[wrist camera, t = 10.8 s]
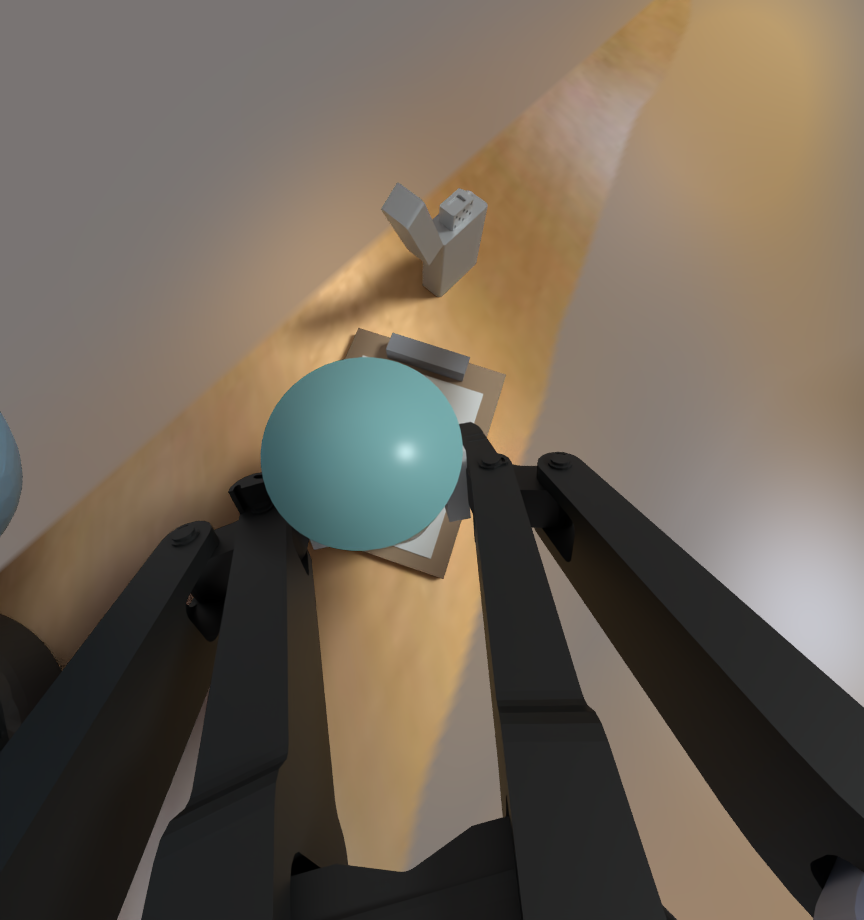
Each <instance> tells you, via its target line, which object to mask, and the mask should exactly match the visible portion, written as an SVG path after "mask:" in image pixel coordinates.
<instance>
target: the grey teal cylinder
mask: <svg viewBox="0 0 864 920" xmlns="http://www.w3.org/2000/svg"><path fill="white" fill-rule="evenodd" d="M462 457H463V444H462V436H461V430H460V426H459V423H458V420H457V417H456V415H455V413H454V410H453V408H452V406H451V405H450V403H449V402H448V400H447V398H446V397H445V396H444V394H443V393H442V392H441V391H440V390H439V388H438V387H437V386H436V385H435V384H434V383H432V382H431V381H430V380H429V379H428V378H426V377H425V376H424V375H422V374H421V373H420V372H418V371H416V370H414V369H412V368H410V367H408V366H406V365H403V364H401V363H398V362H395V361H391V360H387V359H381V358H374V357H359V358H349V359H344V360H340V361H336V362H333V363H330V364H327V365H324V366H322V367H320V368H318V369H316V370H314V371H312V372H311V373H309V374H307V375H306V376H304V377H303V378H302V379H300V380H299V381H298V382H297V383H295V384H294V385H293V386H292V387H291V388H290V389H289V390H288V391H287V392H286V393H285V394H284V396H283V397H282V398H281V400H280V401H279V402H278V404H277V405H276V407H275V409H274V410H273V412H272V414H271V416H270V418H269V420H268V423H267V425H266V428H265V432H264V435H263V439H262V446H261V469H262V475H263V480H264V483H265V487H266V490H267V492H268V494H269V497H270V499H271V501H272V503H273V504H274V506H275V507H276V509H277V510H278V512H279V513H280V515H281V516H282V517H283V518H284V519H285V520H286V521H287V522H288V523H289V524H290V525H291V526H292V527H293V528H295V529H296V530H297V531H298V532H299V533H301V534H303V535H304V536H306V537H308V538H309V539H311V540H313V541H315V542H318V543H320V544H322V545H325V546H329V547H332V548H336V549H342V550H350V551H366V550H373V549H381V548H387V547H391V546H394V545H398V544H402V543H407V542H410V541H412V540H414V539H416V538H418V537H419V536H420V535H422V534H423V533H424V532H425V530H426V529H427V528H428V526H429V525H430V524H431V523H432V522H433V521H434V520H435V519H436V517H437V516H438V515H439V513H440V512H441V511H442V509H443V508H444V507H445V505H446V504H447V502H448V500H449V498H450V497H451V495H452V493H453V491H454V489H455V486H456V484H457V481H458V478H459V474H460V470H461V465H462Z"/></svg>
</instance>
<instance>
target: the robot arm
mask: <svg viewBox="0 0 864 920" xmlns="http://www.w3.org/2000/svg"><path fill="white" fill-rule="evenodd" d="M459 426H460V430H461V436H462V444H463V457H462V465H461V470H460V474H459V478H458V481H457V484H456V486H455V489H454V491H453V493H452V495H451V497H450V498H449V500H448V502H447V504H446V505H445V509H446V513H447V516H448V519H449V522H453V521H458V520H463V519H468V518H471V516H470V508H471V511H472V513H473V522H474V537H475V543H476V552H477V562H478V572H479V582H480V591H481V601H482V611H483V621H484V630H485V640H486V649H487V659H488V669H489V678H490V689H491V698H492V708H493V718H494V728H495V737H496V747H497V757H498V767H499V779H500V791H501V801H502V812H503V818H499V819H496V820H492V821H488V822H485V823H481V824H477V825H474V826H471V827H470V828H469V829H467V830H466V831H464V832H463V833H462V834H460V835H459V836H458V837H456V838H455V839H453V840H452V841H451V842H449V843H448V844H446V845H445V846H444V847H442V848H441V849H439V850H438V851H437V852H435V853H434V854H433V855H431V856H430V857H428V858H427V859H426V860H424V861H423V862H421V863H420V864H419V865H417V866H416V867H414V868H413V869H411V870H409V871H406V872H396V871H388V870H381V869H373V868H365V867H357V866H349V865H348V860H347V852H346V847H345V842H344V837H343V833H342V829H341V826H340V823H339V819H338V815H337V810H336V804H335V796H334V786H333V776H332V765H331V755H330V745H329V734H328V724H327V714H326V703H325V693H324V683H323V673H322V662H321V652H320V642H319V631H318V621H317V611H316V600H315V590H314V580H313V570H312V559H311V557H310V554H309V552H308V550H307V547H308V542H309V538H308V537H306V536H304V535H303V534H301V533H299V532H298V531H297V530H296V529H295V528H293V527H292V526H291V525H290V524H289V523H288V522H287V521H286V520H285V519H284V518H283V517H282V516H281V515H280V513H279V512H278V510H277V509H276V507H275V506H274V504H273V503H272V501H271V499H270V497H269V494H268V492H267V490H266V487H265V483H264V480H263V475H262V472H261V473H256V474H252V475H249V476H247V477H244V478H243V479H241V480H239V481H237V482H236V483H235V484H234V485H233V486H231V488H230V490H229V491H228V493H229V494H230V496H231V498H232V500H233V502H234V504H235V505H236V507H237V509H238V511H239V513H240V517H239V520H238V521H236V522H234V523H231V524H229V525H226V526H224V527H221V528H218V529H216V530H214V529H213V528H212V526H211V524H210V523H209V522H206V521H195V522H192V523H187V524H184V525H183V526H180V527H178V528H176V529H175V530H174V531H172V532H171V533H169V534H168V535H167V536H166V537H165V538H164V539H163V540H162V541H161V542H160V544H159V545H158V546H157V548H156V549H155V550H154V551H153V553H152V554H151V555H150V557H149V558H148V559H147V561H146V562H145V563H144V565H143V566H142V567H141V568H140V570H139V571H138V572H137V574H136V575H135V576H134V578H133V579H132V580H131V582H130V583H129V584H128V586H127V587H126V588H125V589H124V591H123V592H122V593H121V595H120V596H119V597H118V599H117V600H116V601H115V603H114V604H113V605H112V606H111V608H110V609H109V610H108V612H107V613H106V614H105V616H104V617H103V618H102V620H101V621H100V622H99V623H98V625H97V626H96V627H95V629H94V630H93V631H92V633H91V634H90V635H89V637H88V638H87V639H86V641H85V642H84V643H83V644H82V646H81V647H80V648H79V650H78V651H77V652H76V654H75V655H74V656H73V658H72V659H71V660H70V661H69V663H68V664H67V665H66V667H65V668H64V669H63V671H62V672H61V670H60V668H59V666H58V664H57V662H56V660H55V658H54V657H53V655H52V654H51V652H50V651H49V650H48V648H47V647H46V646H45V645H44V643H43V642H42V641H41V640H40V639H39V638H38V637H37V636H36V635H35V634H33V633H32V632H31V631H30V630H29V629H27V628H26V627H24V626H23V625H21V624H20V623H18V622H16V621H14V620H13V619H11V618H9V617H6V616H4V615H1V614H0V920H117V918H118V916H119V913H120V911H121V908H122V906H123V903H124V901H125V898H126V895H127V893H128V890H129V888H130V885H131V883H132V880H133V878H134V875H135V873H136V870H137V868H138V865H139V863H140V860H141V858H142V855H143V853H144V850H145V848H146V845H147V843H148V840H149V838H150V835H151V833H152V830H153V827H154V825H155V822H156V820H157V817H158V815H159V812H160V810H161V807H162V805H163V802H164V800H165V797H166V795H167V792H168V790H169V787H170V785H171V782H172V780H173V777H174V775H175V772H176V770H177V767H178V765H179V762H180V760H181V757H182V754H183V752H184V749H185V747H186V744H187V742H188V739H189V737H190V734H191V732H192V729H193V727H194V724H195V722H196V719H197V717H198V714H199V712H200V709H201V707H202V704H203V702H204V699H205V697H206V694H207V692H208V689H209V687H210V691H209V696H208V702H207V708H206V714H205V719H204V725H203V731H202V737H201V743H200V748H199V754H198V760H197V766H196V772H195V777H194V783H193V789H192V792H191V796H190V800H189V802H188V804H187V805H186V807H185V809H184V810H183V811H181V812H180V813H179V814H178V815H177V816H176V817H175V818H173V819H172V820H171V821H170V822H169V824H168V826H167V828H166V830H165V832H164V834H163V835H162V837H161V840H160V843H159V846H158V850H157V853H156V856H155V859H154V863H153V867H152V872H151V877H150V881H149V886H148V891H147V895H146V900H145V904H144V909H143V914H142V918H141V920H677V919H676V918H675V917H674V916H673V915H672V914H671V913H669V911H667V909H666V908H665V907H664V906H663V905H662V903H661V900H660V897H659V895H658V891H657V888H656V885H655V882H654V879H653V876H652V873H651V870H650V867H649V864H648V861H647V858H646V855H645V852H644V849H643V845H642V842H641V839H640V836H639V833H638V830H637V827H636V824H635V821H634V818H633V815H632V812H631V809H630V806H629V803H628V800H627V797H626V794H625V791H624V788H623V785H622V782H621V779H620V776H619V772H618V769H617V766H616V763H615V760H614V757H613V754H612V751H611V748H610V745H609V742H608V739H607V737H606V734H605V731H604V729H603V726H602V723H601V722H600V720H599V718H598V716H597V715H596V712H595V711H594V710H593V709H591V708H590V707H589V706H588V705H587V703H586V701H585V699H584V697H583V695H582V691H581V688H580V685H579V682H578V679H577V676H576V672H575V669H574V666H573V662H572V659H571V655H570V652H569V649H568V646H567V642H566V639H565V636H564V633H563V629H562V626H561V623H560V620H559V617H558V613H557V610H556V606H555V603H554V600H553V597H552V593H551V590H550V587H549V584H548V580H547V577H546V574H545V570H544V567H543V564H542V560H541V557H540V554H539V551H538V547H537V544H536V541H535V538H534V534H533V531H532V528H531V527H534V528H535V531H536V532H537V534H538V535H539V537H540V538H541V540H542V541H543V543H544V544H545V546H546V547H547V549H548V550H549V551H550V553H551V554H552V556H553V557H554V559H555V560H556V562H557V563H558V565H559V566H560V567H561V569H562V571H563V572H564V573H565V575H566V576H567V578H568V579H569V581H570V582H571V584H572V585H573V587H574V588H575V590H576V591H577V593H578V594H579V596H580V597H581V598H582V600H583V601H584V603H585V604H586V606H587V607H588V608H589V610H590V612H591V613H592V615H593V616H594V618H595V619H596V620H597V622H598V623H599V625H600V626H601V628H602V629H603V631H604V632H605V634H606V635H607V637H608V638H609V639H610V641H611V643H612V644H613V645H614V647H615V648H616V650H617V651H618V653H619V654H620V656H621V657H622V659H623V660H624V661H625V663H626V664H627V666H628V668H629V669H630V670H631V672H632V673H633V675H634V676H635V678H636V679H637V681H638V682H639V684H640V685H641V687H642V688H643V690H644V691H645V692H646V694H647V695H648V697H649V698H650V700H651V701H652V703H653V704H654V706H655V707H656V709H657V710H658V712H659V713H660V714H661V716H662V717H663V719H664V720H665V722H666V723H667V725H668V726H669V728H670V729H671V731H672V732H673V734H674V735H675V737H676V738H677V739H678V741H679V742H680V744H681V745H682V747H683V748H684V750H685V751H686V753H687V754H688V756H689V757H690V759H691V760H692V761H693V763H694V764H695V766H696V767H697V769H698V770H699V772H700V773H701V775H702V776H703V778H704V779H705V781H706V782H707V783H708V785H709V787H710V788H711V789H712V791H713V792H714V794H715V795H716V797H717V798H718V800H719V801H720V803H721V804H722V805H723V807H724V808H725V810H726V811H727V812H728V814H729V815H730V817H731V818H732V819H733V821H734V822H735V823H736V825H737V826H738V827H739V829H740V830H741V832H742V833H743V834H744V836H745V837H746V838H747V840H748V841H749V843H750V844H751V845H752V847H753V848H754V849H755V850H756V852H757V853H758V854H759V855H760V857H761V858H762V859H763V860H764V861H765V862H766V863H767V865H768V866H769V867H770V869H771V870H772V871H773V872H774V874H775V875H776V876H777V877H778V878H779V880H780V881H781V882H782V883H783V885H784V886H785V887H786V888H787V889H788V891H789V892H790V893H791V894H792V895H793V896H794V898H795V899H796V900H797V901H798V902H799V903H800V904H801V905H802V906H803V907H804V908H805V910H806V911H807V912H808V913H809V914H810V915H811V916H812V917H813V920H864V707H862V706H861V705H860V704H859V703H858V702H857V701H856V700H854V699H853V698H852V697H851V696H850V695H849V694H847V693H846V692H845V691H844V690H843V689H842V688H841V687H840V686H839V685H837V684H836V683H835V682H834V681H833V680H832V679H830V678H829V677H828V676H827V675H826V674H825V673H824V672H823V671H821V670H820V669H819V668H818V667H817V666H816V665H815V664H813V663H812V662H811V661H810V660H809V659H808V658H806V657H805V656H804V655H803V654H802V653H801V652H800V651H798V650H797V649H796V648H795V647H794V646H793V645H792V644H791V643H789V642H788V641H787V640H786V639H785V638H784V637H783V636H781V635H780V634H779V633H778V632H777V631H776V630H775V629H773V628H772V627H771V626H770V625H769V624H768V623H767V622H765V621H764V620H763V619H762V618H761V617H760V616H759V615H757V614H756V613H755V612H754V611H753V610H752V609H751V608H749V607H748V606H747V605H746V604H745V603H744V602H743V601H741V600H740V599H739V598H738V597H737V596H736V595H735V594H733V593H732V592H731V591H730V590H729V589H728V588H727V587H725V586H724V585H723V584H722V583H721V582H720V581H719V580H717V579H716V578H715V577H714V576H713V575H712V574H711V573H709V572H708V571H707V570H706V569H705V568H704V567H703V566H701V565H700V564H699V563H698V562H697V561H696V560H695V559H693V558H692V557H691V556H690V555H689V554H688V553H687V552H686V551H684V550H683V549H682V548H681V547H680V546H679V545H678V544H676V543H675V542H674V541H673V540H672V539H671V538H670V537H668V536H667V535H666V534H665V533H664V532H663V531H661V530H660V529H659V528H658V527H657V526H656V525H655V524H654V523H652V522H651V521H650V520H649V519H648V518H647V517H645V516H644V515H643V514H642V513H641V512H640V511H639V510H638V509H636V508H635V507H634V506H633V505H632V504H631V503H630V502H628V501H627V500H626V499H625V498H624V497H623V496H622V495H620V494H619V493H618V492H617V491H616V490H615V489H614V488H612V487H611V486H610V485H609V484H608V483H607V482H606V481H604V480H603V479H602V478H601V477H600V476H599V475H598V474H596V473H595V472H594V471H593V470H592V469H591V468H590V467H588V466H587V465H586V464H585V463H584V462H583V461H582V460H580V459H579V458H578V457H576V456H574V455H571V454H568V453H564V452H552V453H547V454H545V455H543V456H541V457H540V458H539V459H538V463H537V466H518V465H513V464H512V462H511V461H510V459H509V458H508V457H506V456H505V455H503V454H499V453H497V452H496V451H495V449H494V448H493V446H492V445H491V443H490V442H489V440H488V439H487V437H486V436H485V434H484V433H483V431H482V430H481V428H480V427H479V426H478V425H476V424H474V423H472V422H467V423H461V424H459ZM22 477H23V476H22V467H21V460H20V454H19V451H18V447H17V444H16V442H15V439H14V437H13V435H12V433H11V431H10V428H9V426H8V424H7V422H6V420H5V419H4V417H3V415H2V414H1V412H0V536H1V535H2V534H3V532H4V531H5V530H6V528H7V526H8V524H9V523H10V521H11V519H12V517H13V515H14V513H15V511H16V509H17V506H18V503H19V499H20V495H21V490H22ZM310 541H311V544H312V546H313V548H314V550H315V549H320V548H325V547H329V546H325V545H322V544H320V543H318V542H315V541H313V540H311V539H310ZM190 593H191V594H192V595H193V597H194V598H193V600H192V602H191V603H190V605H189V606H188V605H187V604H186V602H187V599H188V596H189V595H190ZM210 684H211V685H210Z"/></svg>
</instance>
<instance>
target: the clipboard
mask: <svg viewBox="0 0 864 920" xmlns="http://www.w3.org/2000/svg"><path fill="white" fill-rule="evenodd" d="M359 357H374V358H381V359H387V360H391V361H395V362H398V363H401V364H403V365H406V366H408V367H410V368H412V369H414V370H416V371H418V372H420V373H421V374H422V375H424V376H425V377H426V378H428V379H429V380H430V381H431V382H432V383H434V384H435V385H436V386H437V387H438V388H439V390H440V391H441V392H442V393H443V394H444V396H445V397H446V398H447V400H448V402H449V403H450V405H451V406H452V408H453V410H454V413H455V415H456V417H457V420H458V423H459V424H461V423H467V422H472V423H474V424H476V425H478V426H479V427H480V428H481V430H482V431H483V433H484V434H485V436H486V437H487V435H488V432H489V429H490V425H491V422H492V419H493V416H494V412H495V409H496V406H497V403H498V399H499V396H500V393H501V390H502V386H503V383H504V380H505V377H506V375H505V374H502V373H499V372H496V371H493V370H490V369H487V368H483V367H480V366H477V365H474V364H471V363H469V359H470V357H468V356H465V355H461V354H458V353H455V352H452V351H449V350H446V349H442V348H439V347H436V346H433V345H430V344H427V343H423V342H420V341H417V340H414V339H411V338H408V337H404V336H401V335H398V334H395V333H392V336H391V338H389V337H386V336H383V335H379V334H376V333H373V332H370V331H367V330H364V329H360V328H358V330H357V333H356V335H355V337H354V340H353V342H352V344H351V346H350V349H349V351H348V353H347V355H346V358H345V359H349V358H359ZM460 523H461V520H458V521H453V522H449V519H448V516H447V513H446V509H445V507H444V508H443V509H442V511H441V512H440V513H439V515H438V516H437V517H436V519H435V520H434V521H433V522H432V523H431V524H430V525H429V526H428V528H427V529H426V530H425V532H424V533H423V534H422V535H420V536H419V537H418V538H416V539H414V540H412V541H410V542H407V543H402V544H398V545H394V546H391V547H387V548H381V549H373V550H366V551H364V552H367V553H370V554H373V555H375V556H378V557H381V558H384V559H387V560H390V561H393V562H396V563H399V564H401V565H404V566H407V567H410V568H413V569H416V570H419V571H422V572H425V573H427V574H430V575H433V576H436V577H439V578H442V579H444V575H445V572H446V569H447V566H448V562H449V559H450V556H451V553H452V549H453V546H454V543H455V540H456V536H457V533H458V530H459V526H460Z"/></svg>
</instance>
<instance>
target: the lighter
mask: <svg viewBox="0 0 864 920" xmlns="http://www.w3.org/2000/svg"><path fill="white" fill-rule="evenodd" d="M381 210H382V212H383V213H384V215H385V216H386V218H387V219H388V221H389V222H390V224H391V225H392V227H393V228H394V230H395V231H396V233H397V234H398V236H399V237H400V239H401V240H402V242H403V243H404V245H405V246H406V248H407V249H408V250H409V251H410V252H411V253H412V254H414V255H415V256H416V257H418V258H419V259H420V260H422V261H423V286H424V287H425V288H427V289H428V290H429V291H430V292H432V293H433V294H434V295H436V296H437V297H442V296H443V295H444V294H445V293H446V292H447V291H448V290H449V289H450V288H451V287H452V286H453V285H454V284H455V283H456V282H457V281H459V280H460V279H461V278H462V277H463V276H464V275H465V274H466V273H467V272H468V271H469V270H470V269H471V268H472V267H473V266H474V265H475V264H476V261H477V256H478V251H479V246H480V241H481V236H482V231H483V226H484V221H485V216H486V211H487V203H486V202H484V201H483V200H482V199H480V198H479V197H477V196H476V195H475V194H473V193H472V192H471V191H464V190H462V189H460V188H459V189H458V190H456V191H455V192H454V193H453V194H452V195H451V196H450V197H448V198H447V199H446V200H445V201H444V202H443V203H442V204H440V211H439V214H438V215H437V216H436V217H435V218H434V219H433V220H432V218H431V216H430V214H429V212H428V209H427V207H426V205H425V203H424V202H423V201H422V200H421V199H420V198H419V197H417V196H416V195H415V194H413V193H412V192H410V191H409V190H408V189H407V188H405V187H403V186H402V185H401V184H400V183H397V184H396V186H395V187H394V189H393V191H392V192H391V194H390V195H389V197H388V199H387V200H386V202H385V204H384V205H383V207H382V209H381Z"/></svg>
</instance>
